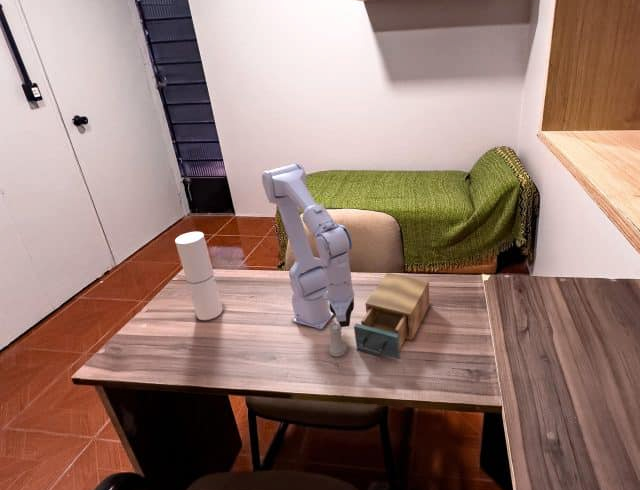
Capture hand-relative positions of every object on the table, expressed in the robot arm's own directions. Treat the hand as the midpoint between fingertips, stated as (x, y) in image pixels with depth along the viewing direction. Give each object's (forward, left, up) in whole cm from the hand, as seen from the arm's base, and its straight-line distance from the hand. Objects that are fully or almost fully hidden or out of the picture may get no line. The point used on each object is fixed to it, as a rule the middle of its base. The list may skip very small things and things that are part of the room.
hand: (345, 324), depth 93 cm
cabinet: (+7, +17, -9) cm, 21 cm away
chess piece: (-3, 0, -10) cm, 10 cm away
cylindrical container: (-47, 0, -10) cm, 48 cm away
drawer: (+7, +7, -8) cm, 13 cm away
